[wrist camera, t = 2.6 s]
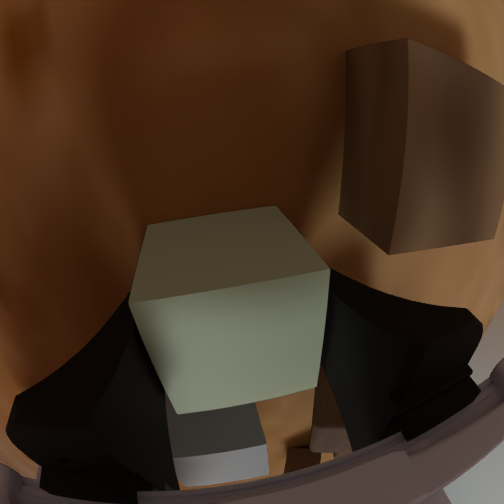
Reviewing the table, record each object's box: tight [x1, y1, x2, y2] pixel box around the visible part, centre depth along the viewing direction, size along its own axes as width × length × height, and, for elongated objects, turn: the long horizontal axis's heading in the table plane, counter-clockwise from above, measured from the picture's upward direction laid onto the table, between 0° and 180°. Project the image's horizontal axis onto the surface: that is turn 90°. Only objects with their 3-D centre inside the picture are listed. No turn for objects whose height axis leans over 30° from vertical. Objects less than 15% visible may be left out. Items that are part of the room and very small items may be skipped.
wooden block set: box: [284, 364, 352, 474], centre depth 16 cm, size 18×9×10 cm, turn 5°
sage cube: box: [128, 205, 330, 414], centre depth 10 cm, size 5×5×5 cm
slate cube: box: [165, 391, 269, 487], centre depth 14 cm, size 5×5×5 cm
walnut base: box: [338, 38, 504, 255], centre depth 10 cm, size 7×7×4 cm
